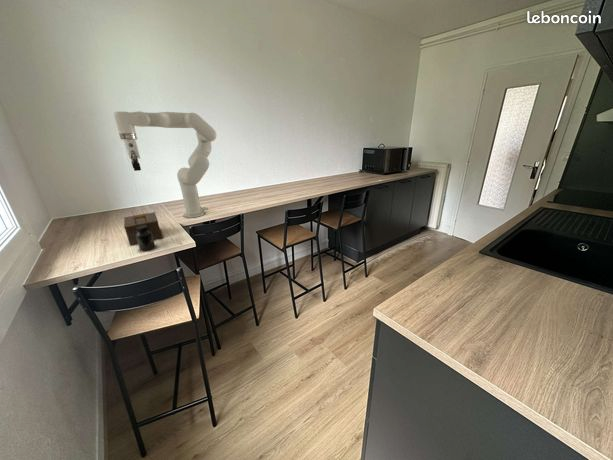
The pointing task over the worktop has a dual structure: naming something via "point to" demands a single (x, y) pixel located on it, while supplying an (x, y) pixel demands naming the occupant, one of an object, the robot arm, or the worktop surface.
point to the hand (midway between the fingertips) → (137, 169)
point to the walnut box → (152, 227)
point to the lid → (140, 220)
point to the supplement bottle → (144, 238)
